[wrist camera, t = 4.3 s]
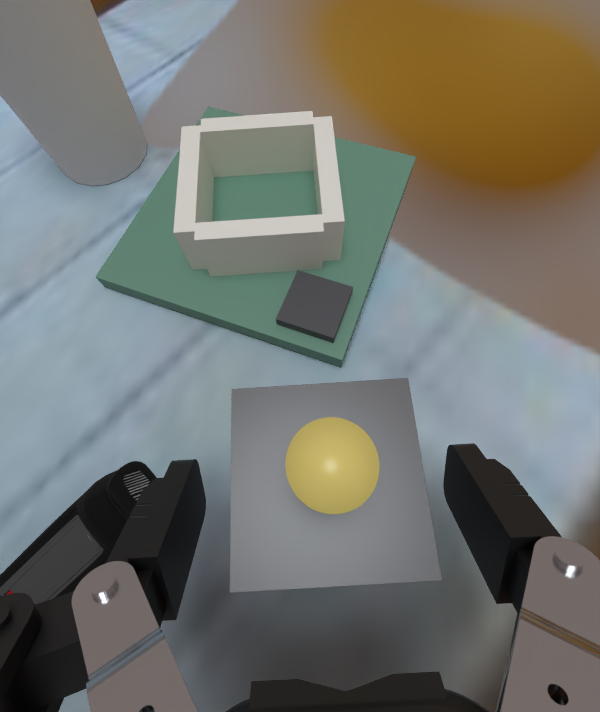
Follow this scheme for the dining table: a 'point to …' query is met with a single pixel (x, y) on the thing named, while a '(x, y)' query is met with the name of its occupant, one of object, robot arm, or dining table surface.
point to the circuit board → (277, 289)
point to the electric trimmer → (78, 537)
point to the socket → (252, 157)
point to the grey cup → (69, 89)
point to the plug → (328, 488)
